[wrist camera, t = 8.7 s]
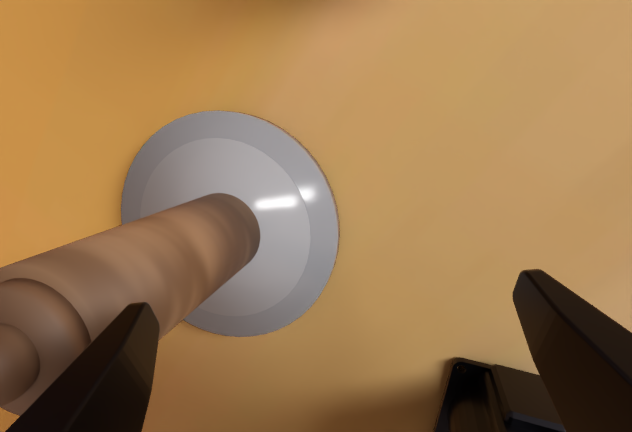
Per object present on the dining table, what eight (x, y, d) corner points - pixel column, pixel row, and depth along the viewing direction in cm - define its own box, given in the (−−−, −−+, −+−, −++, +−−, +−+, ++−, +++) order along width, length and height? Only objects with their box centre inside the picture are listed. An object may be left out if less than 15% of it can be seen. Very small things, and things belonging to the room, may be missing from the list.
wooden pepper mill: (260, 274, 24) (42, 494, 10) (187, 265, 25) (-106, 451, 11) (260, 196, 23) (15, 316, 9) (184, 189, 24) (-147, 287, 10)
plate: (320, 352, 25) (316, 362, 24) (128, 301, 28) (117, 308, 27) (358, 131, 22) (355, 131, 21) (134, 95, 24) (121, 94, 23)
